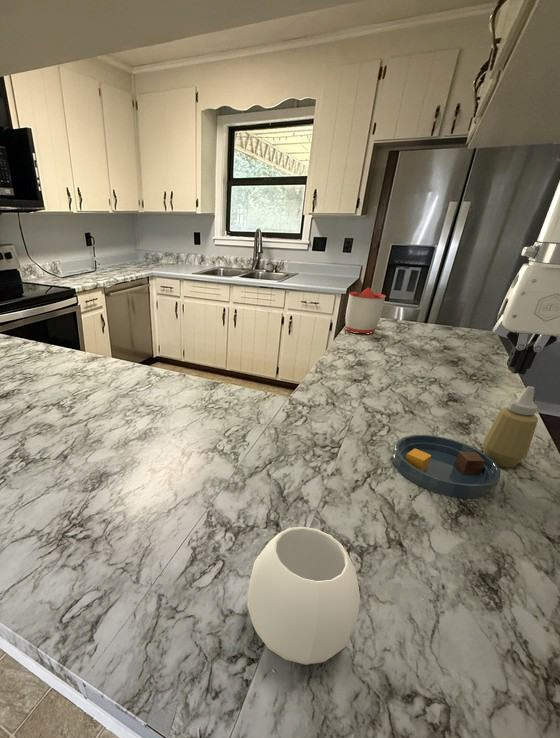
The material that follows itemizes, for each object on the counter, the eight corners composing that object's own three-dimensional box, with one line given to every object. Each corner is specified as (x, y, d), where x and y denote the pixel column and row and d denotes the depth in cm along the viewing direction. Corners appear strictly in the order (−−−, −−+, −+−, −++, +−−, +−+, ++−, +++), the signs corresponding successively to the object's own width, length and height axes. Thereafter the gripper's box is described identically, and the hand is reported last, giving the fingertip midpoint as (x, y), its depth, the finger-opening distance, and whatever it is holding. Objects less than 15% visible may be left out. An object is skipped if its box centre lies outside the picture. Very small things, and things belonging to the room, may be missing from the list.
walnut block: (470, 465, 86) (476, 452, 84) (479, 475, 83) (485, 461, 81) (454, 464, 86) (459, 451, 84) (462, 474, 83) (467, 460, 81)
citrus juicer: (370, 327, 193) (380, 284, 184) (381, 337, 178) (392, 291, 169) (338, 325, 194) (345, 283, 185) (346, 335, 179) (355, 289, 170)
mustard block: (426, 469, 84) (431, 455, 83) (419, 474, 82) (423, 460, 81) (410, 461, 87) (414, 448, 85) (402, 467, 85) (407, 453, 83)
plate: (479, 456, 90) (484, 443, 88) (507, 510, 74) (515, 495, 72) (388, 441, 95) (392, 428, 94) (396, 487, 79) (400, 473, 77)
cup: (333, 587, 57) (351, 516, 51) (362, 683, 46) (390, 606, 40) (242, 583, 58) (249, 511, 52) (247, 676, 46) (257, 598, 40)
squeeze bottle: (516, 456, 90) (549, 383, 82) (524, 475, 84) (562, 398, 75) (474, 448, 93) (503, 377, 85) (480, 465, 87) (511, 390, 78)
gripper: (513, 256, 58) (471, 373, 67) (641, 261, 54) (579, 385, 62) (497, 252, 65) (461, 359, 73) (610, 256, 60) (558, 370, 69)
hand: (515, 371), depth 68 cm, fingers closed
